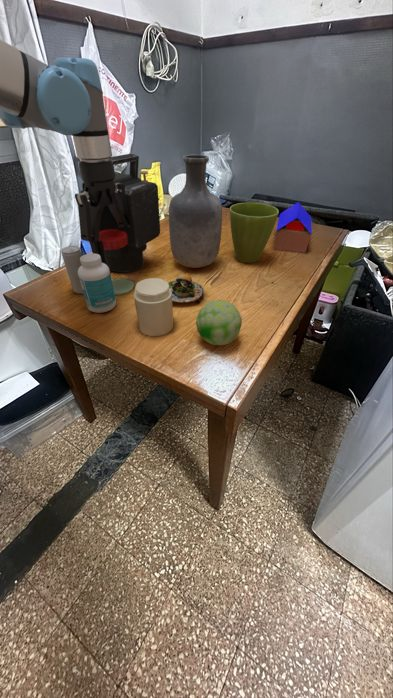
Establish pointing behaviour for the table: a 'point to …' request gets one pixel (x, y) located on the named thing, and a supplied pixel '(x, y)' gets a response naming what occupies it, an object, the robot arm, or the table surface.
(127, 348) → the table surface
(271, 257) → the table surface
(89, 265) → the pill bottle
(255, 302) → the table surface
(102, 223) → the lantern
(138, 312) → the jar
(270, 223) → the flower pot
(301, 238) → the house
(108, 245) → the jar lid
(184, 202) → the vase
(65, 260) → the beverage can
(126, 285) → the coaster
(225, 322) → the decorative ball
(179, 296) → the plate of food
